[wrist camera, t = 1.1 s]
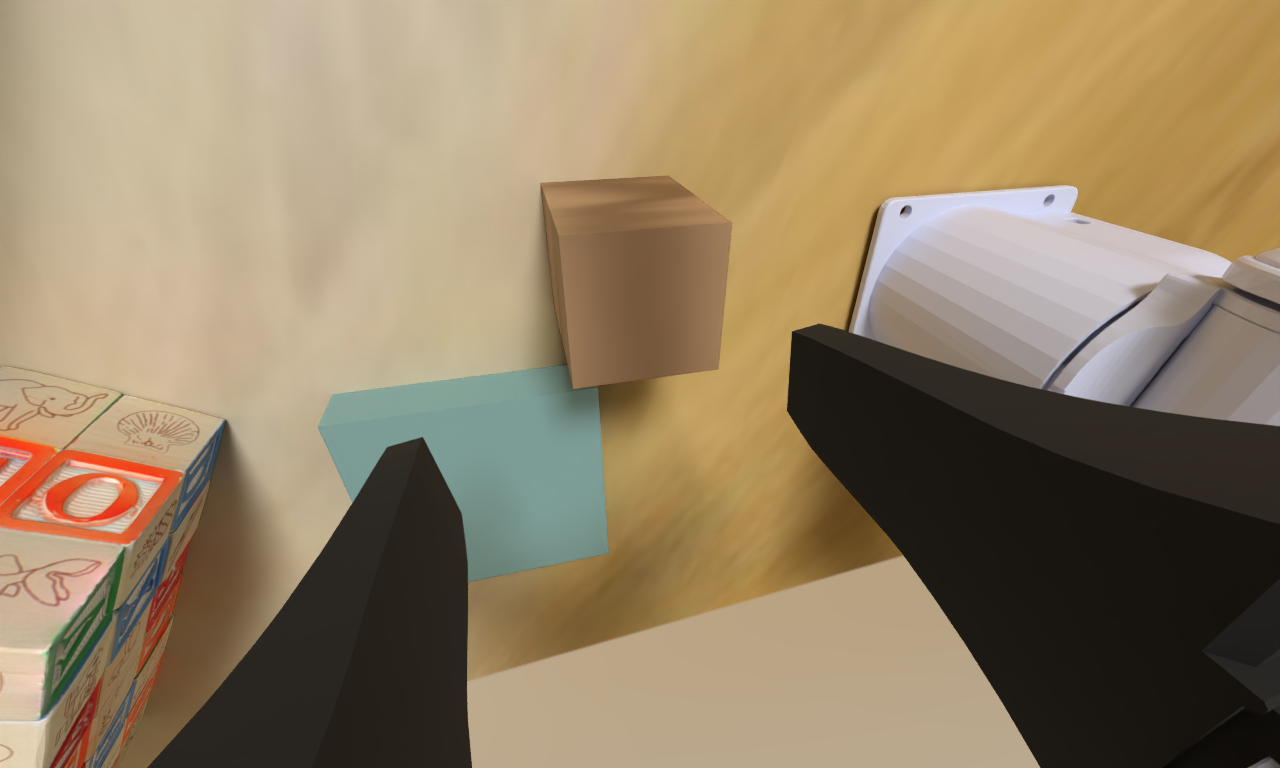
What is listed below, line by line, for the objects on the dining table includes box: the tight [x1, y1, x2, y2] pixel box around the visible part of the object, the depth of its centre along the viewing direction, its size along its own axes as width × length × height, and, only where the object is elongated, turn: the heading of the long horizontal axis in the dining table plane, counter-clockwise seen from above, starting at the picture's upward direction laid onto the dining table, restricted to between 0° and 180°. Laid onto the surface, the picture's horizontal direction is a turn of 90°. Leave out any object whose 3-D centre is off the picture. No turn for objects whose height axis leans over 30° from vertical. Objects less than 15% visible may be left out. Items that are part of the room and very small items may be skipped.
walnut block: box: [541, 176, 732, 389], centre depth 16 cm, size 4×4×6 cm
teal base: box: [318, 365, 609, 582], centre depth 23 cm, size 10×10×2 cm
